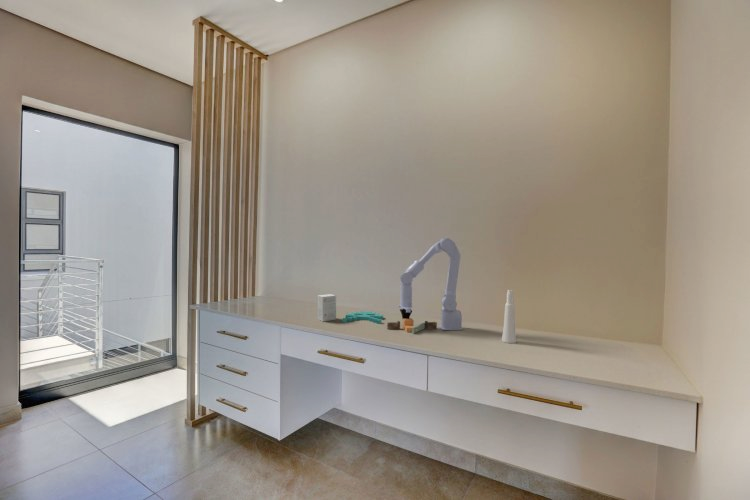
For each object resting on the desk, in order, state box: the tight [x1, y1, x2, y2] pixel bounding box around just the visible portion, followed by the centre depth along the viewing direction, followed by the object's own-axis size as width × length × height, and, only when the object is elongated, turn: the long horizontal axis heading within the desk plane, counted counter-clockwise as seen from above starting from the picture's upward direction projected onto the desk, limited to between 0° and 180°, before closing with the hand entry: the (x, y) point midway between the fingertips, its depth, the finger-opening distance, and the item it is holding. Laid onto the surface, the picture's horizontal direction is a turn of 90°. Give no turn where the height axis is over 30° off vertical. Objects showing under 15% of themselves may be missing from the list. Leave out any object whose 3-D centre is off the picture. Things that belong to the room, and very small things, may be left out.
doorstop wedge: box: [402, 318, 416, 333], centre depth 167 cm, size 4×8×4 cm, turn 9°
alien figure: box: [341, 310, 384, 325], centre depth 189 cm, size 20×2×20 cm
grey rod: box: [411, 322, 425, 334], centre depth 165 cm, size 12×2×2 cm, turn 145°
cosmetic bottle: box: [501, 289, 518, 344], centre depth 150 cm, size 6×6×22 cm
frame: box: [386, 320, 438, 330], centre depth 169 cm, size 24×2×4 cm, turn 95°
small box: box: [316, 293, 337, 322], centre depth 186 cm, size 8×6×13 cm
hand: (405, 324), depth 173 cm, fingers closed
